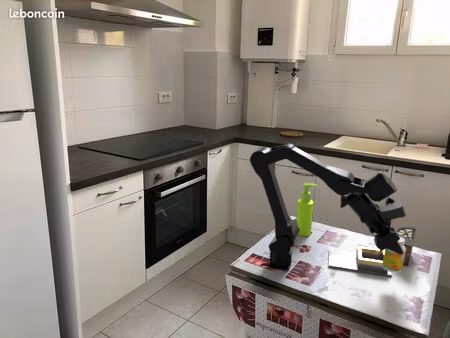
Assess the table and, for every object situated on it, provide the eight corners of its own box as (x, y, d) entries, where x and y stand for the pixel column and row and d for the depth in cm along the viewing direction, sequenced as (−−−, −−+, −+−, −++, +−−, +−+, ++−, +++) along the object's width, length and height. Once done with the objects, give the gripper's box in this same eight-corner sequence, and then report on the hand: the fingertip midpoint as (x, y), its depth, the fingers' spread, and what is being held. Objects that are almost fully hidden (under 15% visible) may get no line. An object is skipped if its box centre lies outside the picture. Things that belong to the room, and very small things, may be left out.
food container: (393, 247, 136) (397, 222, 133) (411, 252, 133) (416, 226, 130) (387, 263, 126) (391, 235, 123) (407, 268, 123) (412, 240, 120)
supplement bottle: (378, 267, 112) (384, 238, 109) (386, 261, 115) (392, 232, 112) (397, 275, 108) (403, 245, 105) (404, 268, 111) (410, 239, 108)
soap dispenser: (314, 236, 143) (319, 186, 137) (296, 236, 143) (300, 186, 138) (311, 229, 149) (316, 181, 143) (294, 229, 149) (297, 181, 143)
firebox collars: (328, 267, 122) (329, 256, 121) (329, 249, 133) (330, 240, 132) (391, 277, 118) (393, 266, 116) (386, 258, 129) (388, 248, 128)
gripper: (397, 205, 97) (435, 249, 98) (383, 182, 114) (415, 219, 115) (361, 229, 100) (398, 271, 102) (352, 203, 118) (384, 239, 119)
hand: (399, 248), depth 109 cm, fingers closed on supplement bottle, 5 cm apart
